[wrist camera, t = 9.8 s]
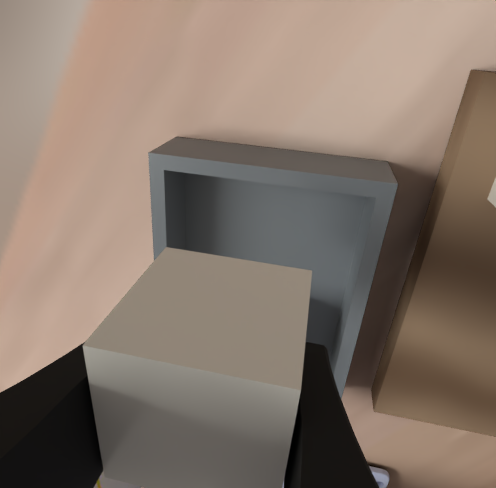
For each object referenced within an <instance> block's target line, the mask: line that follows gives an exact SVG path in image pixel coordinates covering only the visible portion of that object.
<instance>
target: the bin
mask: <svg viewBox="0 0 496 488" xmlns="http://www.w3.org/2000/svg"><path fill="white" fill-rule="evenodd" d="M148 154H149V173H150V192H151V211H152V230H153V249H154V261H155V259H156V258H157V257H158V256H159V255H160V253H161V252H162V251H163V250H164V249H165V248H166V247H169V248H175V249H181V250H188V251H194V252H200V253H206V254H212V255H218V256H225V257H231V258H237V259H243V260H249V261H256V262H262V263H268V264H274V265H280V266H287V267H293V268H299V269H305V270H311V271H312V278H311V289H310V299H309V310H308V321H307V331H306V342H310V343H315V344H320V345H324V346H325V347H326V348H327V350H328V356H329V361H330V365H331V369H332V372H333V376H334V379H335V382H336V386H337V389H338V392H339V395H340V398H342V394H343V391H344V387H345V383H346V379H347V375H348V372H349V368H350V364H351V360H352V356H353V353H354V349H355V345H356V341H357V338H358V334H359V330H360V326H361V322H362V319H363V315H364V311H365V307H366V303H367V300H368V296H369V292H370V288H371V285H372V281H373V277H374V273H375V269H376V266H377V262H378V258H379V254H380V250H381V247H382V243H383V239H384V235H385V232H386V228H387V224H388V220H389V216H390V213H391V209H392V205H393V201H394V197H395V194H396V190H397V186H398V183H397V181H396V178H395V176H394V174H393V172H392V170H391V168H390V166H389V164H388V162H387V161H379V160H371V159H362V158H354V157H345V156H337V155H328V154H320V153H311V152H303V151H294V150H286V149H277V148H269V147H260V146H252V145H243V144H235V143H226V142H218V141H209V140H201V139H192V138H184V137H175V138H173V139H172V140H170V141H168V142H166V143H165V144H163V145H161V146H159V147H158V148H156V149H154V150H152V151H151V152H149V153H148Z"/></svg>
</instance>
